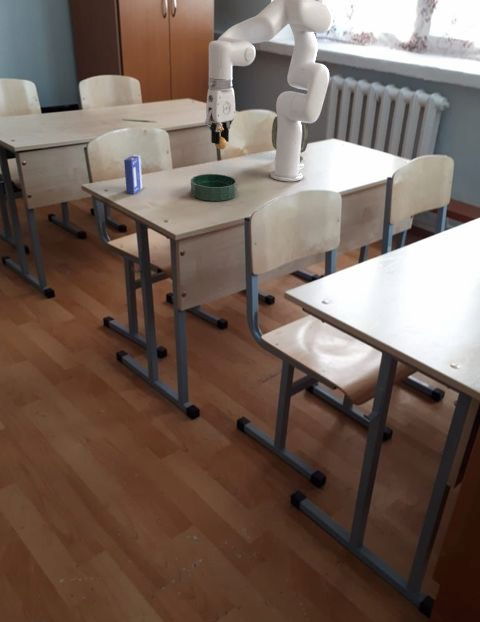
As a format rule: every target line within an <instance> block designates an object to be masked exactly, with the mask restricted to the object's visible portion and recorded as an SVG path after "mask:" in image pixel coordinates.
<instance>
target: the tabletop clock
mask: <svg viewBox="0 0 480 622" xmlns="http://www.w3.org/2000/svg"><path fill="white" fill-rule="evenodd" d="M300 124H301V128H302V139H301V151H300V161H303V160H304V157H303V156H301V154H302V153H304V152H305V151H306V150H307V147H308V142H309V133H310V131H309V123H305V122H300ZM277 128H278V120H277V115H276V116H274V118H273V121H272V127H271V143H272V147H273V148H274V150H276V145H277ZM275 160H276V157H275Z"/></svg>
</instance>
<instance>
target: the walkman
mask: <svg viewBox="0 0 480 622" xmlns="http://www.w3.org/2000/svg"><path fill="white" fill-rule="evenodd" d="M123 163H124V177H125V188H126V191H125V192H126V194H129V195H135V194H136V193H138V192H139V191H141V190H142V189H143V174H142V173H143V172H142V157H141V154H131V155H130V156H128V157H126V158H125V159H124V160H123Z"/></svg>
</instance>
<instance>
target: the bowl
mask: <svg viewBox="0 0 480 622" xmlns="http://www.w3.org/2000/svg"><path fill="white" fill-rule="evenodd" d="M190 194H191V196H193V197H194V198H196V199H199V200H203V201H210V202H221V201H228V200H231V199H234V198H236V196H238V182H237V179H236V178H234V177H233V176H230V175H226V174H219V173H204V174H198V175H195V176H193V177H191V178H190Z"/></svg>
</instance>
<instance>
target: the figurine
mask: <svg viewBox="0 0 480 622" xmlns="http://www.w3.org/2000/svg"><path fill="white" fill-rule="evenodd" d="M212 121H214V120H213V118H212ZM218 124H219V130H218V132H220V133H221V132H222V130H224V129H223V127H222V124H221V123H218ZM214 125H215V126H216V123H214ZM221 128H222V129H221ZM214 145H215V147H216V149H218V150H224V149H226V147H227V145H228V142H226V140H225V139H224V138H223V137H221V136H220V143H219V144H215V143H214Z"/></svg>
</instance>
